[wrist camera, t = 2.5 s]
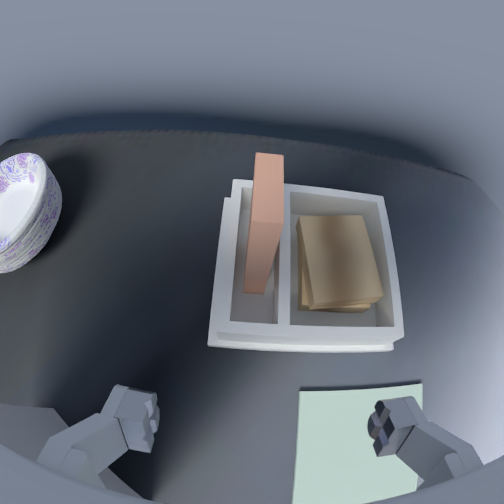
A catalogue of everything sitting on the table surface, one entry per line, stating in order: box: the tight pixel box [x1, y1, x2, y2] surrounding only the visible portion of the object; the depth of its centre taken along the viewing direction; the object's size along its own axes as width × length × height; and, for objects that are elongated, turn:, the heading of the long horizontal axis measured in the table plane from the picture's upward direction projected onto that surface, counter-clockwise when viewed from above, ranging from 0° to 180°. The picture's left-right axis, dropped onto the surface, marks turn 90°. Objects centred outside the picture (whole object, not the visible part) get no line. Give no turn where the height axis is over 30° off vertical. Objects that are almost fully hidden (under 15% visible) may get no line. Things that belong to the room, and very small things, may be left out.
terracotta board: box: [243, 153, 284, 294], centre depth 26 cm, size 2×6×13 cm, turn 177°
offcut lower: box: [297, 238, 370, 313], centre depth 31 cm, size 7×9×2 cm
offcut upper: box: [296, 215, 384, 310], centre depth 29 cm, size 7×9×2 cm
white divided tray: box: [208, 179, 404, 353], centre depth 30 cm, size 19×17×5 cm
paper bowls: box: [0, 153, 62, 273], centre depth 29 cm, size 15×15×8 cm
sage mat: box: [292, 384, 422, 504], centre depth 24 cm, size 14×14×1 cm
